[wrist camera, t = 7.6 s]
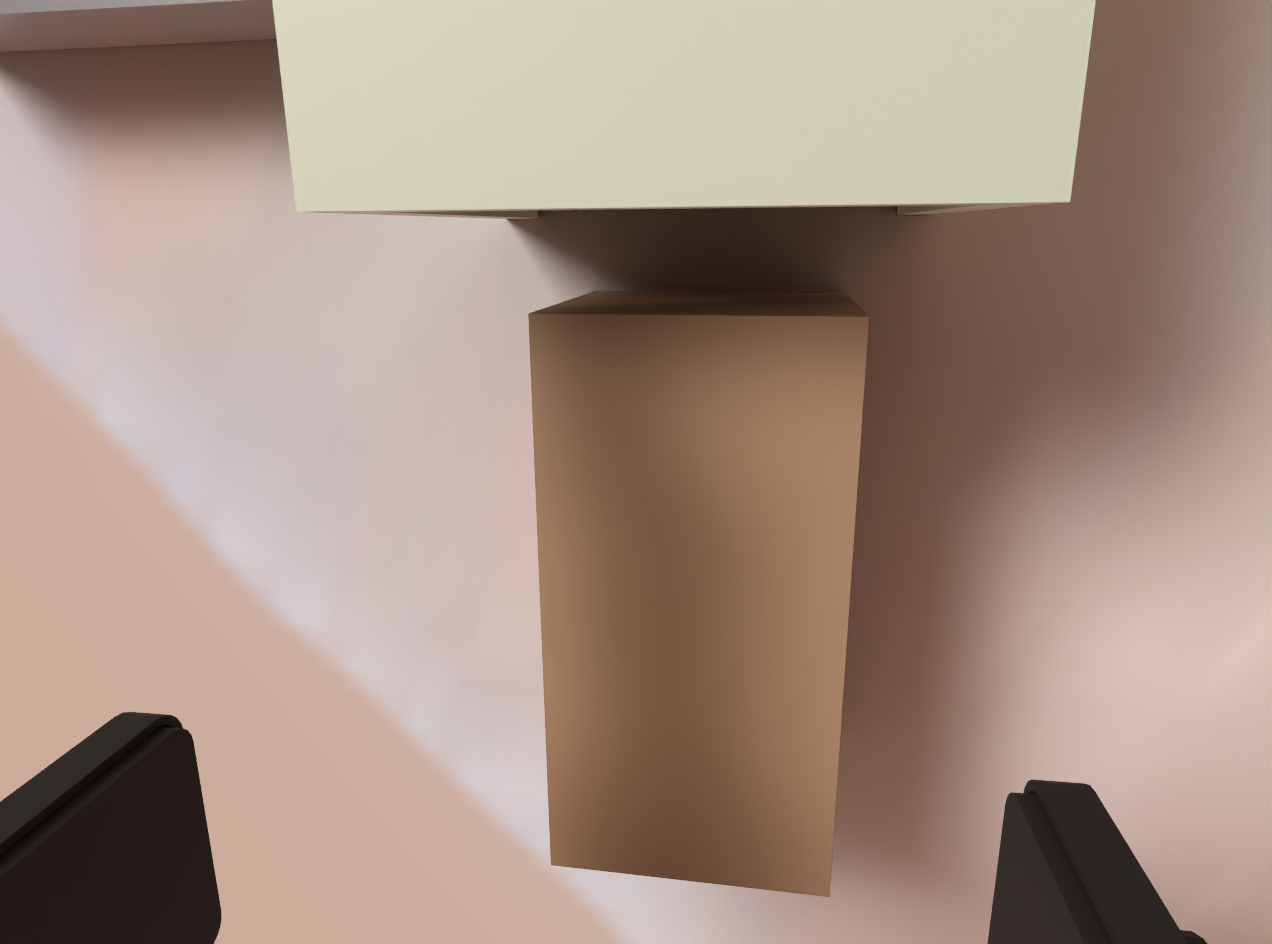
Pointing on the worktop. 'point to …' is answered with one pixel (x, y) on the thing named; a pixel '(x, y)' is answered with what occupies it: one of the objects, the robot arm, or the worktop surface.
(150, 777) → the robot arm
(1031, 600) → the worktop surface
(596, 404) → the block
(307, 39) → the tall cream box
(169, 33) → the tray
